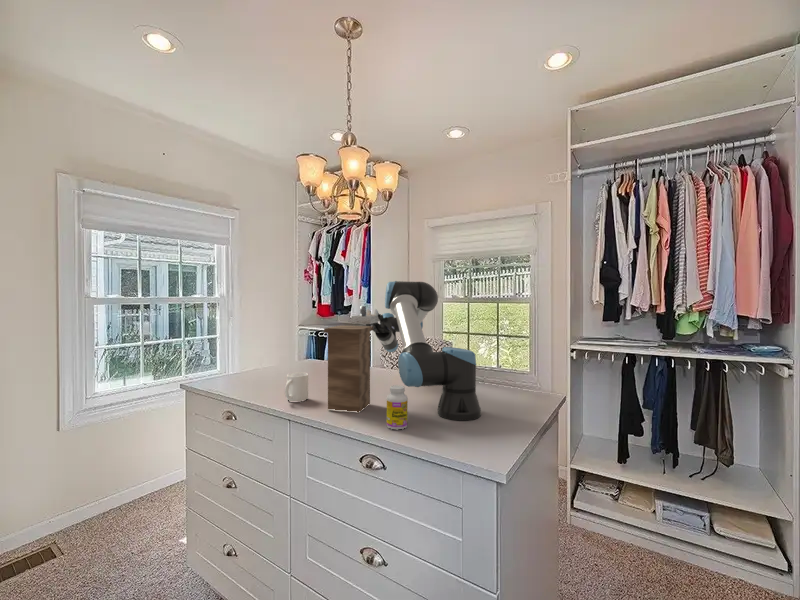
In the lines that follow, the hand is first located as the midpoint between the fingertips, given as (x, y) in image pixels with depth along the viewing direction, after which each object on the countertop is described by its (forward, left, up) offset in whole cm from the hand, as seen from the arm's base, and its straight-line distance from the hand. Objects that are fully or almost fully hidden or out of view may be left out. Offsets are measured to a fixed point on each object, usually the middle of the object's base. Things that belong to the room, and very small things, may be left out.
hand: (371, 312), depth 169 cm
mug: (+9, +32, -35) cm, 48 cm away
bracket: (-2, +3, -4) cm, 5 cm away
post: (-13, +22, -35) cm, 43 cm away
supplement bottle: (-41, +25, -35) cm, 59 cm away
